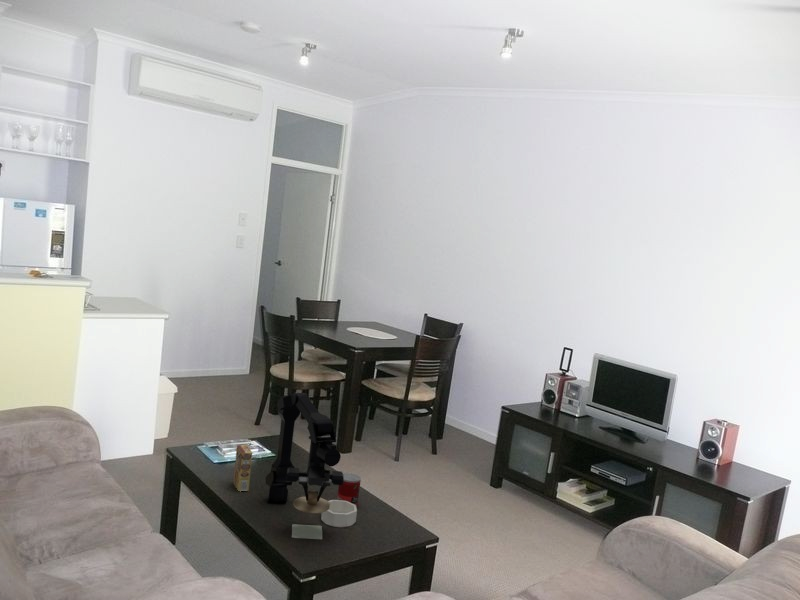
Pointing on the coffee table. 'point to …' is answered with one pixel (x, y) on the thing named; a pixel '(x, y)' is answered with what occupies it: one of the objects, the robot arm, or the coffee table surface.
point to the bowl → (340, 514)
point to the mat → (306, 531)
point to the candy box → (242, 468)
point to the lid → (311, 503)
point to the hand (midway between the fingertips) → (312, 500)
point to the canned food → (349, 488)
